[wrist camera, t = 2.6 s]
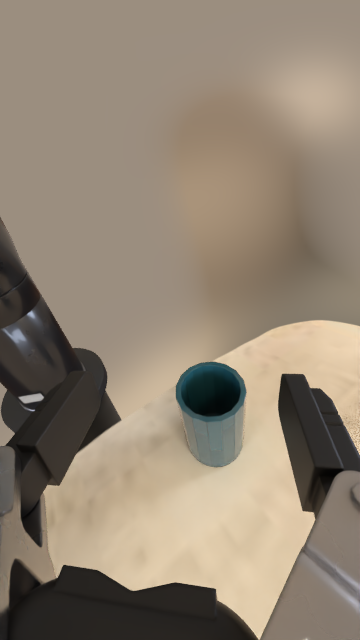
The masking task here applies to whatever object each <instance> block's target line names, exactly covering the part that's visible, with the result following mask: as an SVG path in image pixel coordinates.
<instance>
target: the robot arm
mask: <svg viewBox="0 0 360 640" xmlns="http://www.w3.org/2000/svg"><path fill="white" fill-rule="evenodd" d="M0 383H1V384H2V385H3V386H5V388H6V389H7V390H8V391H9V392H10V393H11V394H12V395H13V396H14V397H15V398H16V399H17V400H18V401H19V403H20V404H21V406H22V407H23V408H24V409H25V410H27V411H28V412H31V414H30V416H29V417H28V418H27V419H26V421H25V422H24V423H23V424H22V426H21V427H20V428H19V429H18V431H17V432H16V433H15V435H14V436H13V437H12V438H11V440H10V441H9V442H8V443H7V444H6V446H1V447H0V640H258V638H257V637H256V635H255V634H254V633H253V632H252V630H251V629H250V628H249V627H248V625H247V624H246V623H245V622H244V621H243V620H242V619H241V618H240V617H239V616H238V615H237V614H236V613H235V612H234V611H232V610H231V609H230V608H229V607H227V606H226V605H224V604H223V603H221V602H219V601H217V596H216V589H213V588H207V587H201V586H194V585H188V584H182V583H170V584H166V585H161V586H156V587H152V588H147V589H142V590H138V591H131V590H129V589H127V588H125V587H124V586H122V585H121V584H119V583H117V582H116V581H114V580H113V579H111V578H109V577H108V576H106V575H105V574H103V573H101V572H100V571H98V570H93V569H86V568H80V567H74V566H67V565H63V567H62V569H61V572H60V574H59V577H58V578H56V576H55V571H54V567H53V563H52V561H51V558H50V555H49V550H48V537H47V522H46V507H45V496H44V493H43V491H44V490H45V488H46V486H47V485H58V486H59V485H60V484H61V482H62V480H63V478H64V476H65V474H66V472H67V470H68V468H69V466H70V464H71V462H72V460H73V459H74V457H75V455H76V453H77V451H78V449H79V447H80V445H81V443H82V441H83V439H84V437H85V435H86V433H87V432H88V430H89V428H90V426H91V424H92V422H93V420H94V418H95V416H96V414H97V412H98V410H99V408H100V403H101V398H100V394H99V391H98V388H97V385H96V383H95V380H94V377H93V374H92V373H91V372H90V371H86V370H85V367H84V366H83V364H82V363H81V362H80V360H79V359H78V357H77V355H76V353H75V352H74V350H73V348H72V347H71V345H70V343H69V341H68V340H67V338H66V336H65V335H64V333H63V331H62V329H61V328H60V326H59V324H58V323H57V321H56V319H55V318H54V316H53V314H52V312H51V311H50V309H49V307H48V306H47V304H46V302H45V300H44V299H43V297H42V295H41V294H40V292H39V290H38V289H37V287H36V285H35V284H34V282H33V280H32V279H31V277H30V275H29V273H28V272H27V270H26V268H25V266H24V265H23V263H22V261H21V259H20V257H19V256H18V253H17V250H16V248H15V246H14V243H13V241H12V239H11V237H10V234H9V232H8V231H7V229H6V227H5V225H4V223H3V221H2V220H1V218H0ZM278 410H279V417H280V422H281V426H282V430H283V434H284V438H285V442H286V446H287V450H288V454H289V458H290V462H291V466H292V470H293V474H294V478H295V482H296V486H297V490H298V494H299V498H300V502H301V506H302V510H303V511H308V512H314V515H315V519H316V520H315V522H314V525H313V527H312V529H311V531H310V534H309V536H308V538H307V540H306V542H305V544H304V546H303V547H302V549H301V551H300V553H299V555H298V557H297V559H296V561H295V563H294V565H293V568H292V570H291V572H290V574H289V577H288V579H287V581H286V583H285V585H284V588H283V590H282V592H281V594H280V596H279V599H278V601H277V603H276V605H275V608H274V610H273V612H272V614H271V616H270V619H269V621H268V623H267V625H266V627H265V630H264V632H263V634H262V636H261V639H260V640H360V455H359V453H358V451H357V449H356V447H355V445H354V443H353V441H352V439H351V437H350V435H349V433H348V431H347V429H346V427H345V426H344V425H343V421H342V419H341V417H340V415H338V411H337V409H336V407H335V405H334V403H333V401H332V399H331V398H329V397H328V396H327V395H326V394H325V393H324V392H323V391H322V390H321V389H318V388H310V387H309V384H308V382H307V380H306V377H305V376H304V375H303V374H282V376H281V384H280V392H279V400H278Z"/></svg>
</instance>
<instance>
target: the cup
mask: <svg viewBox="0 0 360 640" xmlns="http://www.w3.org/2000/svg"><path fill="white" fill-rule="evenodd" d="M176 400H177V404H178V408H179V412H180V416H181V420H182V424H183V428H184V432H185V436H186V440H187V443H188V446H189V448H190V451H191V453H192V454H193V456H194V457H195V458H196V459H197V460H198V461H200V462H201V463H203V464H205V465H208V466H211V467H222V466H225V465H228V464H230V463H231V462H233V461H234V460H235V459H236V458H237V457H238V455H239V454H240V452H241V449H242V445H243V439H244V423H245V407H246V388H245V384H244V380H243V379H242V378H241V376H240V375H239V374H238V373H237V371H236V370H234V369H232V368H231V367H229V366H227V365H225V364H222V363H217V362H205V363H199V364H197V365H195V366H192V367H190V368H189V369H188V370H186V371H185V372H184V373H183V374H182V375H181V377H180V379H179V381H178V383H177V385H176Z"/></svg>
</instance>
